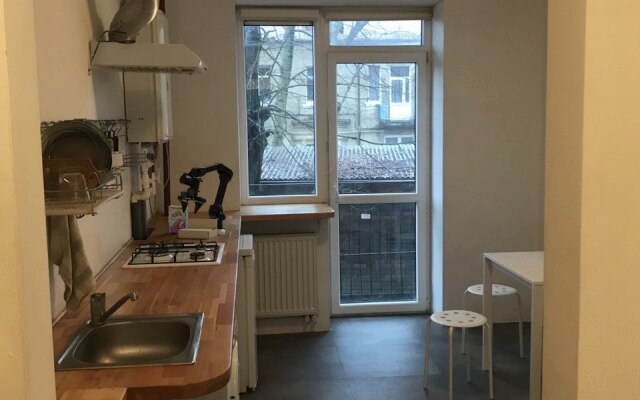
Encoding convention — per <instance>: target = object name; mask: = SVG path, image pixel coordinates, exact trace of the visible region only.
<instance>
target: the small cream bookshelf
mask: <svg viewBox="0 0 640 400" xmlns="http://www.w3.org/2000/svg"><path fill="white" fill-rule="evenodd" d="M218 236H219V235H218V229H214V228H200V227H188V228H186V229H181V230H179V231H178V233H177V238H178V239H193V238H195V239H200V240H201V239H202V240H203V239H204V240H209V239H213V238H215V237H218ZM195 239H194V240H195Z"/></svg>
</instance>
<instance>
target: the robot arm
mask: <svg viewBox="0 0 640 400" xmlns="http://www.w3.org/2000/svg"><path fill="white" fill-rule="evenodd" d="M211 172H216V173H217V174H218V180H219V184H218V187H217V191H216V196H215V198H214V202H213V203H212V204H210V205H209V208H208V216H209V219H217V228H213V229H224V230H226V227H224V221H225V220H226V218H227V216H226V215H225V213H223V212H224V209H223V208H224V206H223V202H224V199H225V195H226V193H227V192H226V191H227V188H228V184H229V183H230V182H231V181H232V179H233V176H234V172H233V170H232V168H231V169H230V167H228V166H226V165H224V163H222V162H214V163H212V164H209V165H205V166H193V167H192V168H191V169H190V171H189V172H188V173H187V172H182V175H181V176H180V177H179V179H178V180H179V184H181V185H184V186H188V187H189V188H188V187H187V188H186V190H183V191H180V194H179V195H178V196H177V201H178V202H179V203H180V206H182V211H183V213H185V211H186V208H187V206H188V204H189V201H191V202H193V203H194V210H193V214H194V215H196V214H197V212H198V211H199V210H200V209H201V208H202V207H203V205H205V204H207V199H206V197H203V196H198V195H199V193H201V190H200V186H201V185H200V184H201V183H203V182H204V180H203V179H202V177H204V176H205V175H207V174H208V173H211Z"/></svg>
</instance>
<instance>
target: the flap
mask: <svg viewBox="0 0 640 400" xmlns="http://www.w3.org/2000/svg"><path fill="white" fill-rule="evenodd" d="M188 228H208V229H214V228H217V219H210V218H188Z"/></svg>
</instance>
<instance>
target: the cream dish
mask: <svg viewBox="0 0 640 400" xmlns="http://www.w3.org/2000/svg"><path fill="white" fill-rule="evenodd" d="M224 235H226V229H218V236H224Z"/></svg>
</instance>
